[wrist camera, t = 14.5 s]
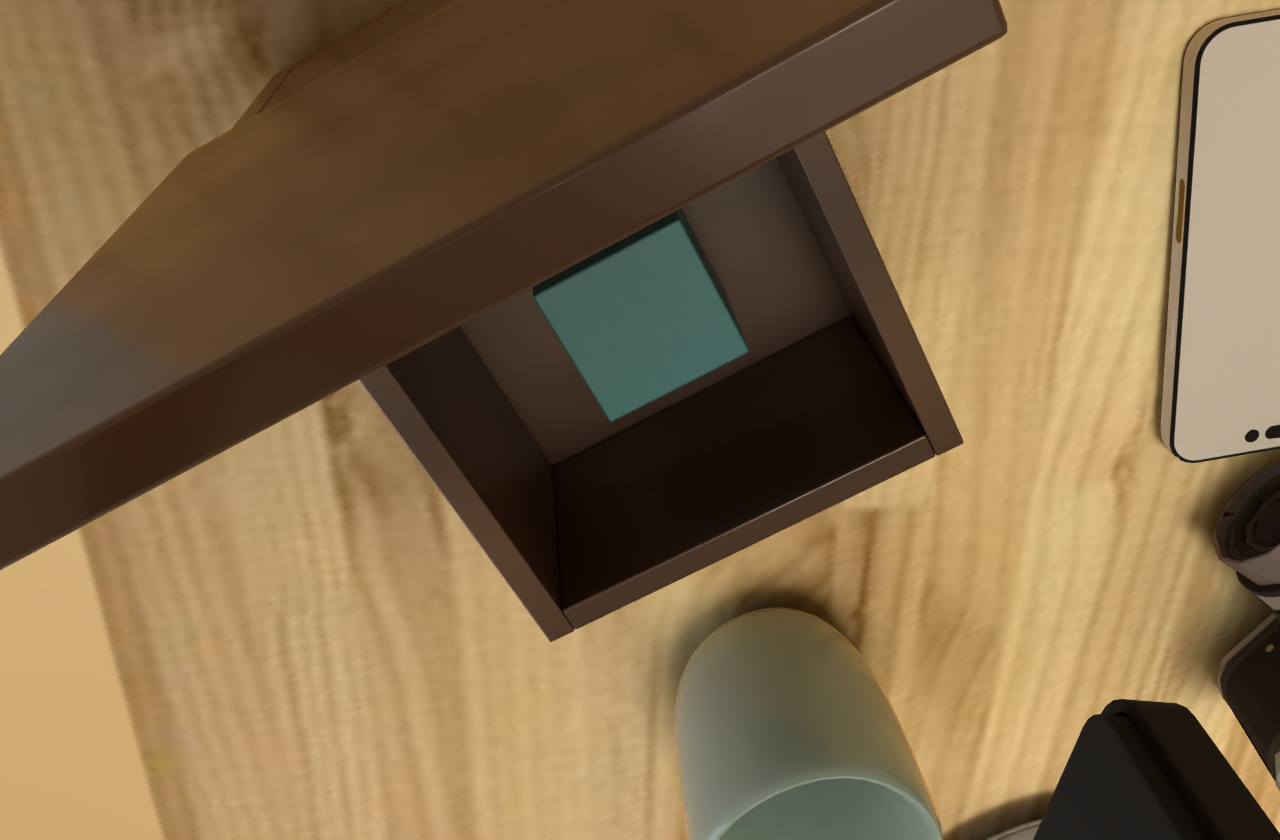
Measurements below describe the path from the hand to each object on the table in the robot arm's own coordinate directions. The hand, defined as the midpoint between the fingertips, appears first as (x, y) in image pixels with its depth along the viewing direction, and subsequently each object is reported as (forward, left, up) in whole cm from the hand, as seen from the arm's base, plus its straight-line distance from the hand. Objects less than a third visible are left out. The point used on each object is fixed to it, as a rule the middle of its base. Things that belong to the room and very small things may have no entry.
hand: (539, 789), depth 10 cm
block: (+7, 0, -27) cm, 28 cm away
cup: (+24, -3, -28) cm, 37 cm away
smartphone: (+17, +19, -28) cm, 38 cm away
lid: (-3, 0, -11) cm, 11 cm away
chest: (+5, 0, -28) cm, 29 cm away
